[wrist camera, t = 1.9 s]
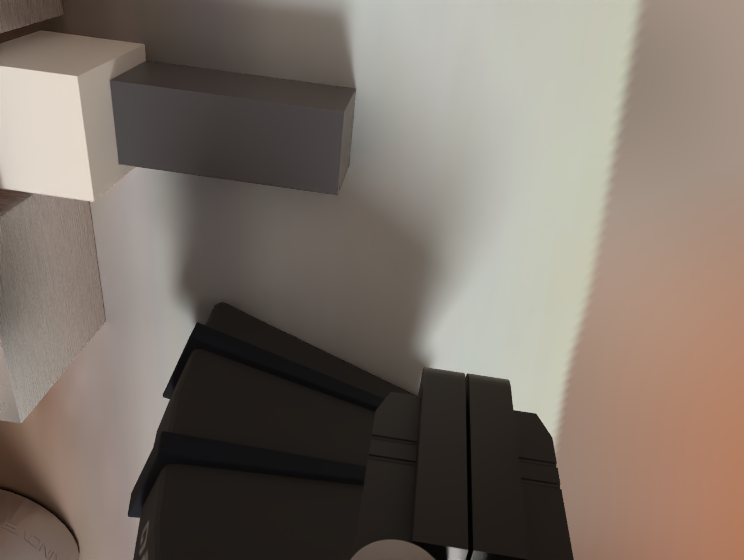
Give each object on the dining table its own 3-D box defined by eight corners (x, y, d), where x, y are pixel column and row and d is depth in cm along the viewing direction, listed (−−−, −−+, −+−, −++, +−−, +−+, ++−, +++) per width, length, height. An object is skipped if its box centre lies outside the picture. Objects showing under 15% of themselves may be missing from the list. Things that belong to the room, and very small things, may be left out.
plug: (357, 72, 24) (335, 111, 19) (348, 179, 26) (326, 235, 21) (20, 27, 24) (-74, 55, 20) (38, 135, 26) (-43, 182, 22)
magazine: (139, 278, 27) (154, 653, 17) (395, 325, 34) (522, 614, 23) (116, 339, 29) (115, 712, 18) (363, 372, 36) (467, 660, 25)
